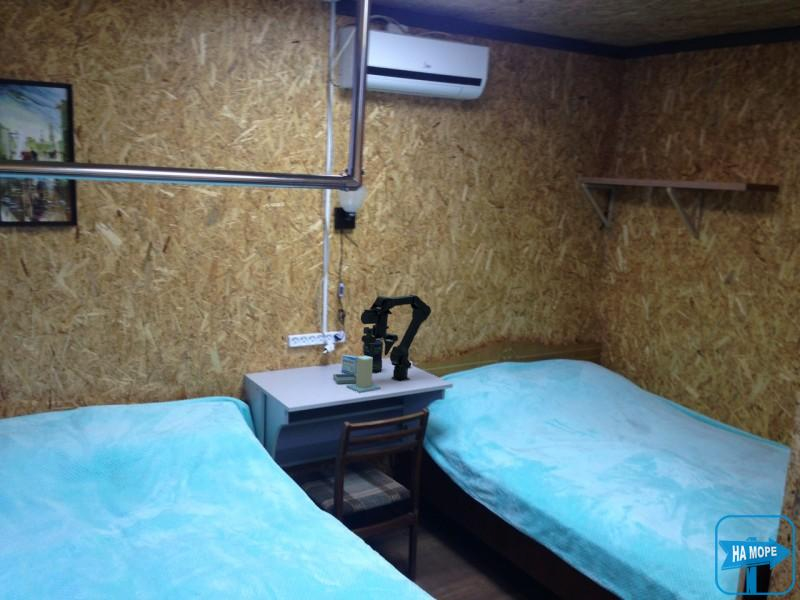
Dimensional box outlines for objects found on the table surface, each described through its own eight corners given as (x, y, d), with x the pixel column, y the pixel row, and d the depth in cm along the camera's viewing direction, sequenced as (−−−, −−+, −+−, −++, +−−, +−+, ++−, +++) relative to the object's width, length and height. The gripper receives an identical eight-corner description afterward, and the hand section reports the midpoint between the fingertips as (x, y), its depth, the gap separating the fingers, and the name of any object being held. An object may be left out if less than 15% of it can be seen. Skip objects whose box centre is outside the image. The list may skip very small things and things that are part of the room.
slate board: (367, 383, 320) (367, 381, 320) (380, 389, 313) (380, 387, 312) (346, 387, 313) (346, 385, 313) (359, 392, 305) (359, 390, 305)
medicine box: (341, 372, 338) (341, 355, 336) (346, 370, 342) (346, 353, 340) (354, 375, 334) (355, 358, 333) (359, 373, 338) (360, 356, 337)
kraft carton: (363, 384, 316) (364, 355, 314) (371, 386, 313) (372, 357, 311) (356, 385, 312) (357, 356, 310) (363, 388, 309) (364, 359, 307)
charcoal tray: (354, 377, 330) (354, 373, 330) (359, 383, 320) (360, 379, 320) (333, 378, 327) (333, 374, 326) (337, 384, 317) (337, 380, 316)
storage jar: (358, 369, 345) (360, 340, 343) (375, 367, 351) (376, 339, 348) (368, 374, 337) (370, 344, 335) (385, 372, 343) (387, 343, 340)
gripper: (384, 319, 331) (381, 351, 332) (354, 321, 318) (352, 354, 319) (400, 323, 323) (397, 356, 325) (370, 325, 310) (367, 359, 312)
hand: (378, 356), depth 320 cm, fingers open, 9 cm apart
